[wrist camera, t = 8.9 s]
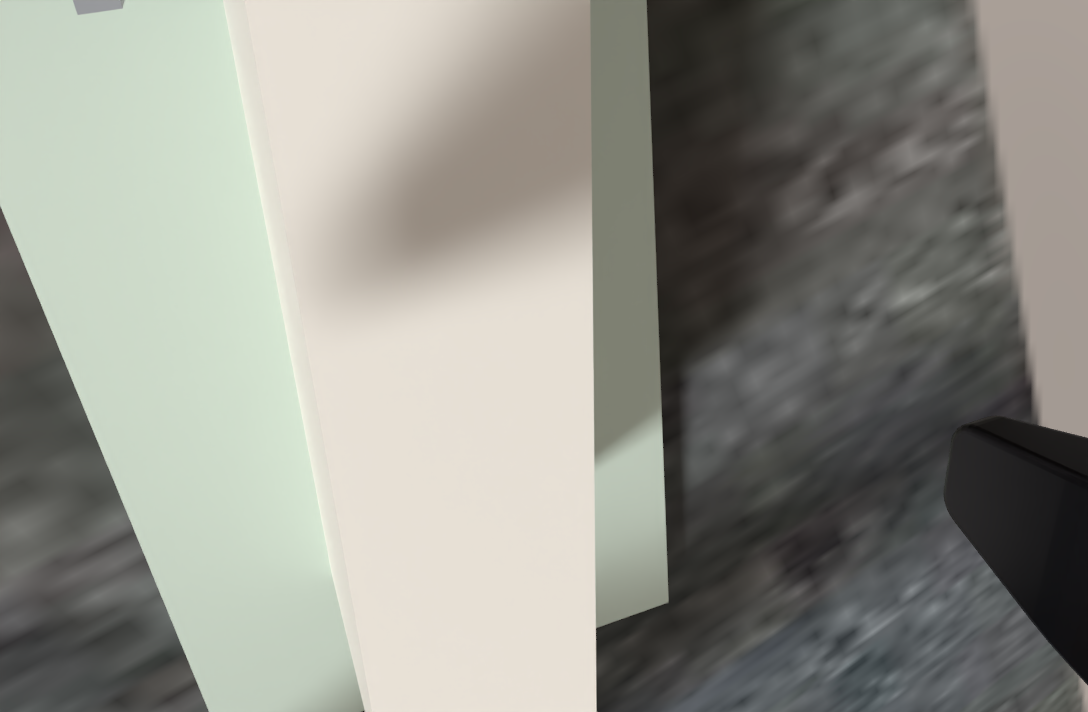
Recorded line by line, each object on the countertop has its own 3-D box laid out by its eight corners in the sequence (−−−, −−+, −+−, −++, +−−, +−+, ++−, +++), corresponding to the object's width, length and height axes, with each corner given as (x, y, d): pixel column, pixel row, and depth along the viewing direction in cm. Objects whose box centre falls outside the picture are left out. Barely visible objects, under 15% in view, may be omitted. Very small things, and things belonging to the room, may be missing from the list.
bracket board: (651, 577, 24) (729, 689, 21) (225, 724, 21) (237, 880, 18) (587, -750, 12) (742, -977, 9) (-395, -813, 9) (-691, -1177, 6)
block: (490, 534, 20) (596, 749, 15) (332, 575, 19) (391, 820, 14) (418, -372, 13) (585, -525, 8) (150, -382, 12) (143, -565, 7)
